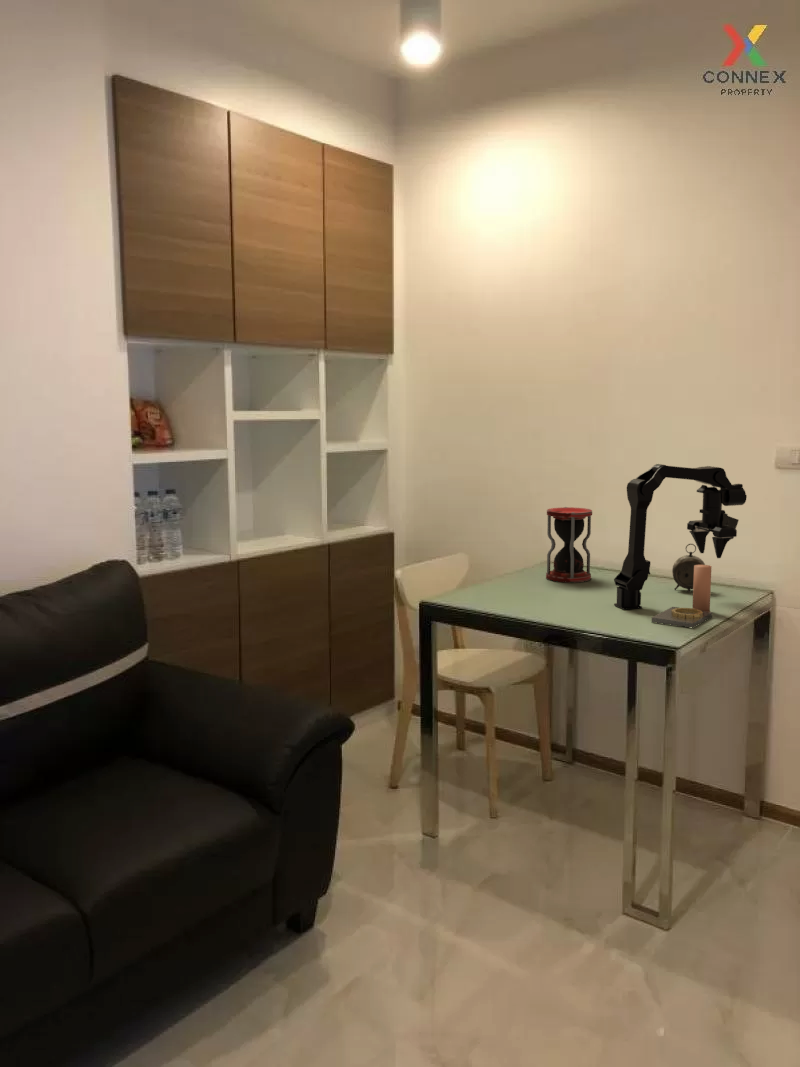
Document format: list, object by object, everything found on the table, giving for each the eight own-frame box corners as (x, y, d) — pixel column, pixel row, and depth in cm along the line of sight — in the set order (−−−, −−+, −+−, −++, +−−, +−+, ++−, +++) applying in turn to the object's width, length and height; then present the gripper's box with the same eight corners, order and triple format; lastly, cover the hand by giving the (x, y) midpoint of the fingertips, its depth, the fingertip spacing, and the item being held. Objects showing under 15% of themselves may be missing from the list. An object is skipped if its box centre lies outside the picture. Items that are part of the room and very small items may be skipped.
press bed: (692, 628, 249) (692, 619, 248) (651, 622, 256) (651, 614, 256) (711, 617, 261) (712, 608, 261) (672, 611, 269) (672, 603, 268)
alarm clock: (705, 590, 297) (707, 542, 294) (706, 594, 291) (708, 545, 289) (671, 589, 299) (673, 541, 297) (672, 592, 294) (673, 544, 292)
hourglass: (542, 574, 327) (543, 507, 324) (586, 573, 327) (587, 506, 323) (549, 583, 311) (550, 513, 308) (595, 582, 311) (596, 512, 307)
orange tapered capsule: (698, 613, 265) (700, 568, 263) (689, 610, 270) (690, 565, 268) (713, 612, 266) (714, 567, 264) (703, 609, 271) (705, 564, 269)
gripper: (753, 509, 270) (750, 559, 272) (717, 502, 288) (715, 549, 290) (720, 510, 267) (718, 561, 270) (686, 503, 285) (685, 551, 287)
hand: (710, 555), depth 279 cm, fingers open, 9 cm apart
